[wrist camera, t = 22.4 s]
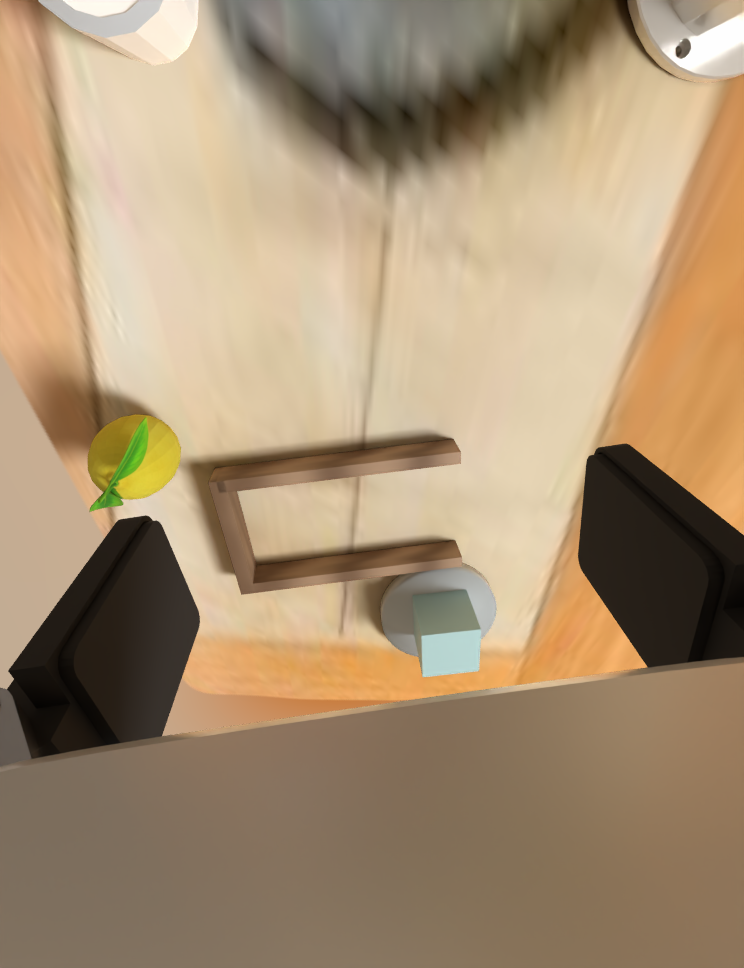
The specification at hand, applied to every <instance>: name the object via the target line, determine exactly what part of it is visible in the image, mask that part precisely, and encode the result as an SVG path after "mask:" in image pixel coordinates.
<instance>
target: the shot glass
mask: <svg viewBox="0 0 744 968" xmlns="http://www.w3.org/2000/svg"><path fill="white" fill-rule="evenodd" d="M38 1H39V2H40V3H41V4H42V5H43V6H45V7H46V8H47V9H48V10H50V11H51V12H52V13H54V14H55V15H56V16H57V17H59V18H60V19H61V20H63V21H64V22H65V23H66V24H68V25H69V26H70V27H72V28H73V29H75V30H77V31H79V32H81V33H83V34H85V35H87V36H89V37H91V38H93V39H94V40H96V41H98V42H100V43H102V44H104V45H106V46H108V47H110V48H112V49H114V50H116V51H118V52H120V53H122V54H123V55H125V56H127V57H129V58H131V59H133V60H137V61H140V62H144V63H147V64H150V65H158V64H163V63H168V62H173V61H174V60H175V59H176V58H178V57H179V56H180V55H181V54H182V53H183V52H184V51H186V50H187V49H188V48H189V45H190V43H191V40H192V38H193V36H194V33H195V31H196V29H197V21H198V0H38Z"/></svg>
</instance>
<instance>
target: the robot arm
mask: <svg viewBox="0 0 744 968" xmlns="http://www.w3.org/2000/svg"><path fill="white" fill-rule="evenodd" d="M627 2H628V9H629V12H630V15H631V19H632V22H633V25H634V28H635V31H636V34H637V35H638V37H639V39H640V41H641V43H642V44H643V46H644V48H645V50H646V51H647V53H648V54H649V55H650V56H651V57H652V58H653V59H654V60H655V61H656V63H657V64H658V65H659V66H660V67H661V68H663V69H665V70H666V71H668V72H669V73H671V74H673V75H674V76H676V77H678V78H682V79H685V80H689V81H692V82H717V81H722V80H726V79H730V78H734V77H737V76H739V75H742V74H744V0H627ZM675 49H676V51H677V55H676V52H675ZM578 559H579V564H580V567H581V569H582V571H583V573H584V574H585V576H586V577H587V579H588V580H589V582H590V583H591V585H592V586H593V588H594V589H595V590H596V592H597V593H598V595H599V596H600V598H601V599H602V601H603V602H604V604H605V605H606V607H607V608H608V610H609V611H610V612H611V614H612V615H613V617H614V618H615V620H616V621H617V623H618V624H619V626H620V627H621V629H622V630H623V632H624V633H625V634H626V636H627V637H628V639H629V640H630V642H631V643H632V645H633V646H634V648H635V649H636V651H637V652H638V654H639V655H640V656H641V658H642V659H643V661H644V662H645V664H646V665H647V667H648V668H641V669H632V670H624V671H617V672H610V673H602V674H595V675H588V676H580V677H573V678H566V679H558V680H551V681H544V682H537V683H529V684H522V685H515V686H507V687H500V688H493V689H485V690H478V691H471V692H464V693H457V694H450V695H443V696H436V697H429V698H422V699H415V700H408V701H400V702H394V703H386V704H379V705H373V706H366V707H359V708H352V709H345V710H338V711H331V712H324V713H317V714H310V715H303V716H296V717H289V718H283V719H276V720H269V721H263V722H256V723H249V724H242V725H236V726H230V727H222V728H216V729H209V730H202V731H195V732H189V733H182V734H175V735H168V736H162V734H163V731H164V728H165V725H166V722H167V719H168V716H169V713H170V711H171V708H172V705H173V702H174V698H175V696H176V693H177V690H178V687H179V684H180V681H181V678H182V675H183V672H184V670H185V667H186V664H187V661H188V658H189V655H190V652H191V649H192V646H193V643H194V640H195V637H196V634H197V632H198V629H199V624H200V616H199V612H198V609H197V606H196V604H195V602H194V599H193V597H192V595H191V592H190V590H189V588H188V585H187V583H186V581H185V578H184V576H183V574H182V571H181V569H180V567H179V564H178V562H177V560H176V557H175V555H174V553H173V550H172V548H171V546H170V543H169V541H168V539H167V536H166V534H165V532H164V529H163V527H162V525H161V524H160V523H159V522H158V521H153V520H152V519H151V518H150V517H149V516H140V517H134V518H127V519H121V520H118V521H117V522H116V523H115V525H114V526H113V528H112V529H111V530H110V532H109V533H108V534H107V536H106V537H105V539H104V540H103V541H102V543H101V544H100V546H99V547H98V548H97V550H96V551H95V552H94V554H93V555H92V557H91V558H90V559H89V561H88V562H87V563H86V565H85V566H84V567H83V569H82V570H81V572H80V573H79V574H78V576H77V577H76V579H75V580H74V581H73V583H72V584H71V585H70V587H69V588H68V589H67V591H66V592H65V594H64V595H63V596H62V598H61V599H60V601H59V602H58V603H57V605H56V606H55V607H54V609H53V610H52V611H51V613H50V614H49V616H48V617H47V618H46V620H45V621H44V622H43V624H42V625H41V627H40V628H39V629H38V631H37V632H36V633H35V635H34V636H33V638H32V639H31V640H30V642H29V643H28V644H27V646H26V647H25V649H24V650H23V651H22V653H21V654H20V655H19V657H18V658H17V660H16V661H15V662H14V664H13V665H12V666H11V668H10V669H9V672H10V674H11V675H12V677H13V678H14V680H13V682H12V683H11V685H10V686H9V687H8V689H3V688H0V968H744V535H743V534H741V533H740V532H739V531H738V530H736V529H735V528H734V527H733V526H731V525H730V524H729V523H727V522H726V521H725V520H724V519H722V518H721V517H720V516H719V515H717V514H716V513H715V512H714V511H712V510H711V509H710V508H709V507H707V506H706V505H705V504H703V503H702V502H701V501H700V500H698V499H697V498H696V497H695V496H693V495H692V494H691V493H690V492H688V491H687V490H686V489H685V488H683V487H682V486H681V485H679V484H678V483H677V482H676V481H674V480H673V479H672V478H671V477H669V476H668V475H667V474H666V473H664V472H663V471H662V470H661V469H659V468H658V467H657V466H655V465H654V464H653V463H652V462H650V461H649V460H648V459H647V458H645V457H644V456H643V455H642V454H640V453H639V452H638V451H637V450H635V449H634V448H633V447H631V446H630V445H628V444H619V445H613V446H606V447H599V448H598V449H596V451H595V453H594V455H591V456H589V457H588V459H587V463H586V474H585V485H584V496H583V507H582V518H581V529H580V540H579V551H578Z"/></svg>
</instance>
